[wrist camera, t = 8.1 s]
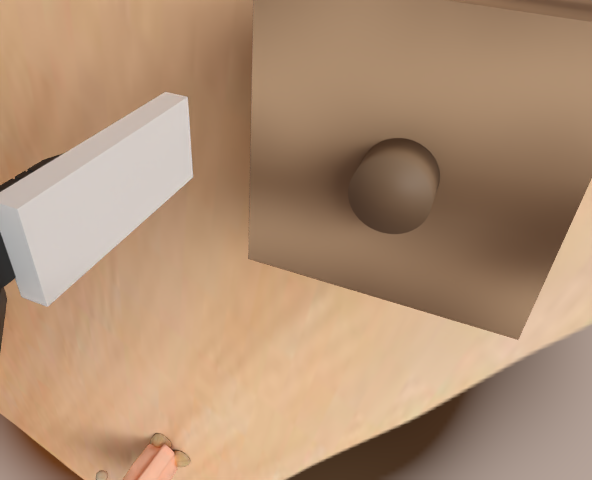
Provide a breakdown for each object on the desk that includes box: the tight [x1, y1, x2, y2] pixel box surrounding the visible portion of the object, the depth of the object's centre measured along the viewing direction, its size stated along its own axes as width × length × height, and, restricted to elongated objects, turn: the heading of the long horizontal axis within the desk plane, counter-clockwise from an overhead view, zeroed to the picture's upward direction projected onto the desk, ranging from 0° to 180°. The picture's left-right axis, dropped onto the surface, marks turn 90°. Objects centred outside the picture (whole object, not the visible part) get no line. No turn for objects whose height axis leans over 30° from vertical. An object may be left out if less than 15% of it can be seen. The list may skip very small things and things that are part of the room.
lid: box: [248, 0, 592, 340], centre depth 17 cm, size 10×10×6 cm
